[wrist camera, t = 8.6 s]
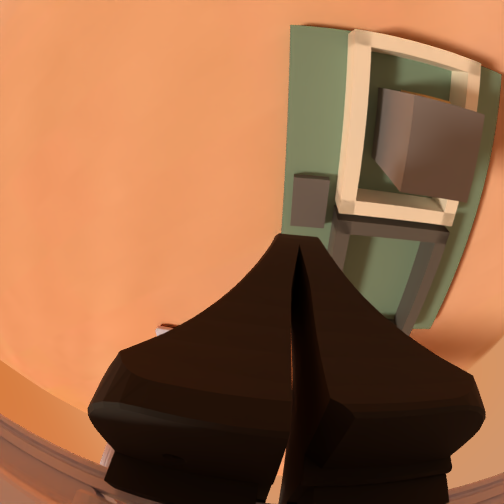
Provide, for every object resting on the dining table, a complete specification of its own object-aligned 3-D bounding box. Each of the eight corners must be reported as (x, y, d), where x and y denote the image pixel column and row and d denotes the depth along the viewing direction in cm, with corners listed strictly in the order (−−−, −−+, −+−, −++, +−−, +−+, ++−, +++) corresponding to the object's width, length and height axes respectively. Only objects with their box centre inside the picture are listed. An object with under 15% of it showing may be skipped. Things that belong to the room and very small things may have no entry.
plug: (424, 165, 16) (466, 202, 11) (371, 156, 16) (400, 192, 11) (434, 97, 13) (485, 112, 9) (378, 85, 14) (414, 92, 9)
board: (426, 320, 23) (436, 346, 20) (275, 312, 24) (272, 340, 22) (493, 73, 12) (520, 77, 10) (290, 27, 14) (289, 18, 11)
